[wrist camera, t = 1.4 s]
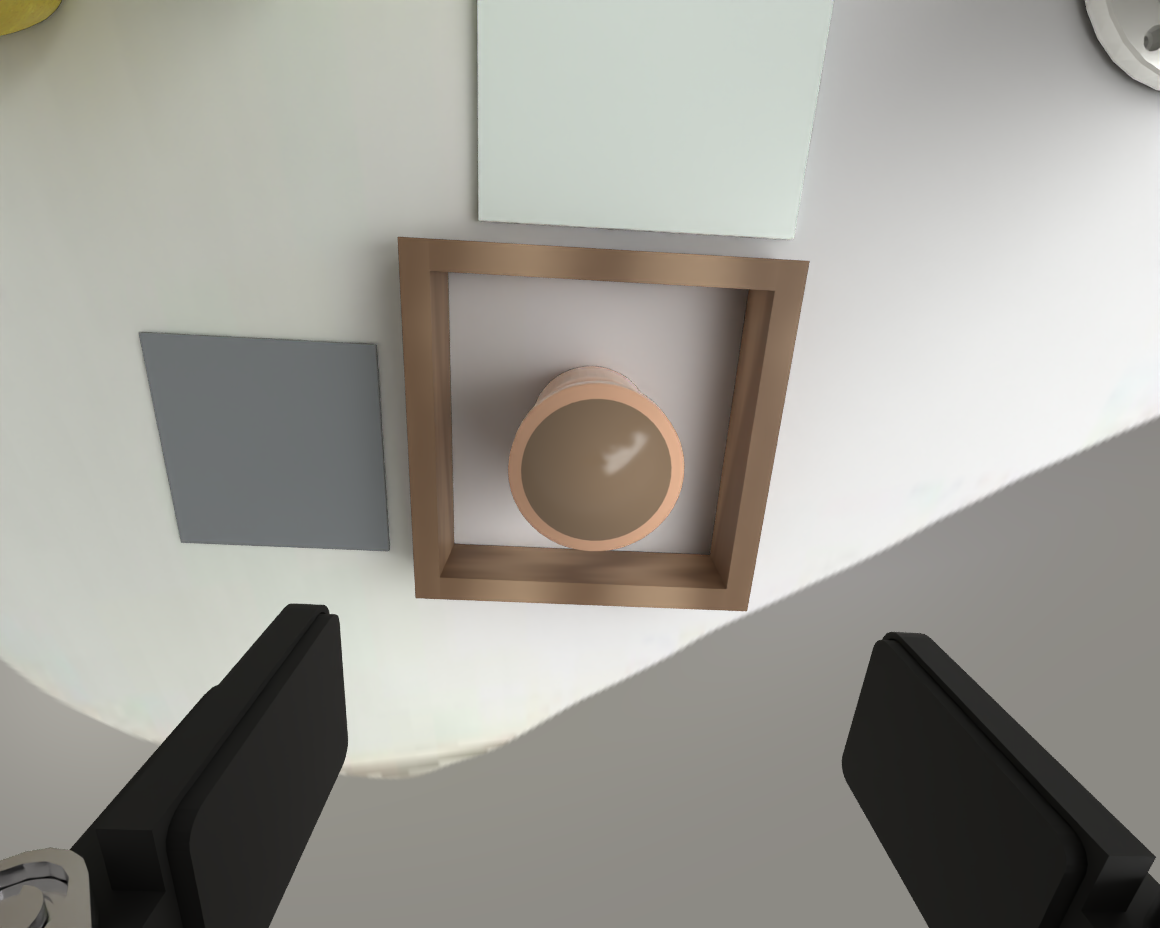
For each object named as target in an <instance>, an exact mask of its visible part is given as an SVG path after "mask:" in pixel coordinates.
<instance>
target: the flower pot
mask: <svg viewBox="0 0 1160 928" xmlns="http://www.w3.org/2000/svg"><path fill="white" fill-rule="evenodd" d="M61 1H62V0H0V36H1V35H6V34H10V33H13V32H17V31H20V30H23V29H26V28H28V27H31V26H33V25H35V24H37V23H39V22H41V21H43V20H45V19H47V18H48V17H49V16H50V15H51V14H52V13H53V12H54V11H55V10H56V9H57V8H58V6H59V5H60V3H61Z"/></svg>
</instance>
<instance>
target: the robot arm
mask: <svg viewBox="0 0 1160 928" xmlns="http://www.w3.org/2000/svg"><path fill="white" fill-rule="evenodd" d="M1085 4H1086V10H1087V13H1088V15H1089V18H1090V20H1091V23H1092V26H1093V28H1094V31H1095V34H1096V36H1097V39H1098V40H1099V42H1100V43H1101V44H1102V46H1103V47H1104V49H1105V50H1106V52H1107V53H1108V55H1109V56H1110V58H1111V59H1112V61H1113V62H1114V63H1115V64H1117V65H1118V66H1119V67H1120V68H1121V69H1122V70H1123V71H1125V72H1126V73H1127V74H1128V75H1129V76H1130V77H1132V78H1133V79H1135V80H1137V81H1139V82H1141V83H1143V84H1145V85H1147V86H1149V87H1151V88H1153V89H1155V90H1159V91H1160V0H1085ZM347 747H348V732H347V719H346V705H345V691H344V677H343V663H342V650H341V636H340V623H339V618H338V616H337V615H336V614H329V610H328V608H327V606H325V605H313V604H288V605H287V606H286V607H285V608H284V609H283V610H282V611H281V612H280V614H279V615H278V616H277V617H276V618H275V619H274V621H273V622H272V623H271V624H270V625H269V626H268V628H267V629H266V630H265V631H264V632H263V633H262V635H261V636H260V637H259V638H258V639H257V640H256V642H255V643H254V644H253V645H252V646H251V647H250V649H249V650H248V651H247V652H246V653H245V654H244V656H243V657H242V658H241V659H240V660H239V661H238V663H237V664H236V665H235V666H234V667H233V668H232V670H231V671H230V672H229V673H228V674H227V675H226V677H225V678H224V679H223V680H222V681H221V682H220V684H219V685H217V686H214V687H212V688H211V689H210V690H209V691H208V692H207V693H206V694H205V695H204V696H203V697H202V698H201V699H200V700H199V702H198V703H197V704H196V705H195V706H194V707H193V709H192V710H191V711H190V712H189V713H188V714H187V715H186V717H185V718H184V719H183V720H182V721H181V722H180V723H179V725H178V726H177V727H176V728H175V729H174V730H173V732H172V733H171V734H170V735H169V736H168V737H167V738H166V740H165V741H164V742H163V743H162V744H161V745H160V746H159V748H158V749H157V750H156V751H155V752H154V753H153V755H152V756H151V757H150V758H149V759H148V760H147V762H146V763H145V764H144V765H143V766H142V767H141V768H140V770H139V771H138V772H137V773H136V774H135V775H134V776H133V778H132V779H131V780H130V781H129V782H128V783H127V784H126V786H125V787H124V788H123V789H122V790H121V791H120V792H119V794H118V795H117V796H116V797H115V798H114V799H113V801H112V802H111V803H110V804H109V805H108V806H107V808H106V809H105V810H104V811H103V812H102V813H101V814H100V815H99V817H98V818H97V819H96V820H95V821H94V822H93V824H92V825H91V826H90V827H89V828H88V829H87V831H86V832H85V833H84V834H83V835H82V836H81V837H80V838H79V840H78V841H77V842H76V843H75V844H74V845H73V846H72V848H71V849H70V850H68V849H59V848H58V849H57V848H45V849H39V850H33V851H27V852H23V853H20V854H18V855H15V856H12V857H9V858H6V859H3V860H1V861H0V928H269V925H270V923H271V921H272V919H273V917H274V914H275V912H276V910H277V908H278V906H279V903H280V901H281V899H282V897H283V895H284V893H285V890H286V888H287V886H288V884H289V882H290V880H291V877H292V875H293V873H294V871H295V868H296V866H297V864H298V862H299V860H300V857H301V855H302V853H303V851H304V849H305V846H306V844H307V842H308V840H309V838H310V836H311V834H312V831H313V829H314V827H315V825H316V823H317V820H318V818H319V816H320V814H321V812H322V809H323V807H324V805H325V803H326V801H327V799H328V796H329V794H330V792H331V790H332V788H333V785H334V783H335V781H336V779H337V777H338V774H339V772H340V770H341V768H342V766H343V763H344V760H345V757H346V753H347ZM842 769H843V774H844V777H845V779H846V782H847V784H848V785H849V787H850V789H851V791H852V792H853V794H854V796H855V798H856V799H857V801H858V803H859V805H860V807H861V808H862V810H863V812H864V814H865V815H866V817H867V819H868V821H869V822H870V824H871V826H872V828H873V829H874V831H875V833H876V835H877V837H878V838H879V840H880V842H881V843H882V845H883V847H884V849H885V851H886V852H887V854H888V856H889V858H890V859H891V861H892V863H893V865H894V866H895V868H896V870H897V871H898V874H899V875H900V877H901V879H902V880H903V882H904V884H905V886H906V887H907V889H908V891H909V893H910V895H911V897H912V898H913V900H914V902H915V904H916V905H917V907H918V909H919V911H920V912H921V914H922V916H923V918H924V919H925V921H926V923H927V925H928V927H929V928H1160V884H1159V883H1158V882H1157V881H1156V880H1155V879H1154V878H1153V877H1152V876H1151V875H1150V874H1149V873H1148V871H1149V869H1150V867H1151V865H1152V864H1153V862H1154V860H1155V858H1156V857H1155V856H1154V855H1153V854H1152V853H1151V852H1150V851H1149V850H1148V849H1147V848H1146V847H1145V846H1144V845H1143V844H1142V843H1141V842H1140V841H1139V840H1138V839H1137V838H1136V837H1135V836H1134V835H1133V834H1132V833H1131V832H1130V831H1129V830H1128V829H1127V828H1126V827H1124V825H1123V824H1121V823H1120V822H1119V821H1118V820H1117V819H1116V818H1115V817H1114V816H1113V815H1112V814H1111V813H1110V812H1109V811H1108V810H1107V809H1106V808H1105V807H1104V806H1103V805H1102V804H1101V803H1100V802H1099V801H1098V800H1097V799H1095V797H1093V795H1092V794H1091V793H1089V792H1088V791H1087V790H1086V789H1085V788H1084V787H1083V786H1082V785H1081V784H1080V783H1079V782H1078V781H1077V780H1076V779H1075V778H1074V777H1073V776H1072V775H1071V774H1070V773H1069V772H1068V771H1067V770H1066V769H1065V768H1064V767H1063V766H1062V765H1061V764H1060V763H1059V762H1058V761H1056V759H1054V758H1053V757H1052V756H1051V755H1050V754H1049V753H1048V752H1047V751H1046V750H1045V749H1044V748H1043V747H1042V746H1041V745H1040V744H1039V743H1038V742H1037V741H1036V740H1035V739H1034V738H1032V736H1031V735H1030V734H1029V733H1028V732H1027V731H1025V729H1024V728H1023V727H1021V726H1020V725H1019V724H1018V723H1017V722H1016V721H1015V720H1014V719H1013V718H1012V717H1011V716H1010V715H1009V714H1008V713H1007V712H1006V711H1005V710H1004V709H1003V708H1002V707H1001V706H1000V705H999V704H998V703H997V702H996V701H994V699H992V697H991V696H990V695H988V694H987V693H986V692H985V691H984V690H983V689H982V688H981V687H980V686H979V685H978V684H977V683H976V682H975V681H974V680H973V679H972V678H971V677H970V676H969V675H968V674H967V673H966V672H965V671H964V670H963V669H961V667H960V666H959V665H958V664H957V663H956V662H954V661H953V660H952V659H951V658H950V657H949V656H948V655H947V654H946V653H945V652H944V651H943V650H942V649H941V648H940V647H939V646H938V645H937V644H936V643H935V642H934V641H933V640H932V639H931V638H929V637H928V636H927V635H925V634H921V633H903V632H889V633H887V634H886V635H885V636H884V637H883V639H882V640H879V641H877V642H876V643H875V645H874V647H873V651H872V654H871V658H870V661H869V665H868V668H867V672H866V675H865V679H864V682H863V686H862V689H861V693H860V696H859V700H858V704H857V707H856V710H855V714H854V718H853V721H852V725H851V728H850V732H849V735H848V738H847V742H846V745H845V749H844V753H843V756H842Z"/></svg>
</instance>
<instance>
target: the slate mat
mask: <svg viewBox="0 0 1160 928" xmlns="http://www.w3.org/2000/svg"><path fill="white" fill-rule="evenodd" d="M139 336H140V341H141V346H142V351H143V356H144V361H145V366H146V371H147V376H148V381H149V386H150V391H151V396H152V401H153V406H154V411H155V416H156V420H157V425H158V430H159V435H160V440H161V445H162V450H163V455H164V460H165V465H166V470H167V475H168V480H169V485H170V490H171V495H172V500H173V505H174V510H175V514H176V519H177V524H178V529H179V534H180V539H181V543H204V544H228V545H252V546H275V547H299V548H323V549H347V550H370V551H389V550H390V545H389V529H388V514H387V499H386V483H385V468H384V453H383V437H382V422H381V406H380V391H379V376H378V360H377V345H376V344H359V343H340V342H321V341H303V340H284V339H265V338H246V337H227V336H209V335H190V334H171V333H152V332H139Z"/></svg>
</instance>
